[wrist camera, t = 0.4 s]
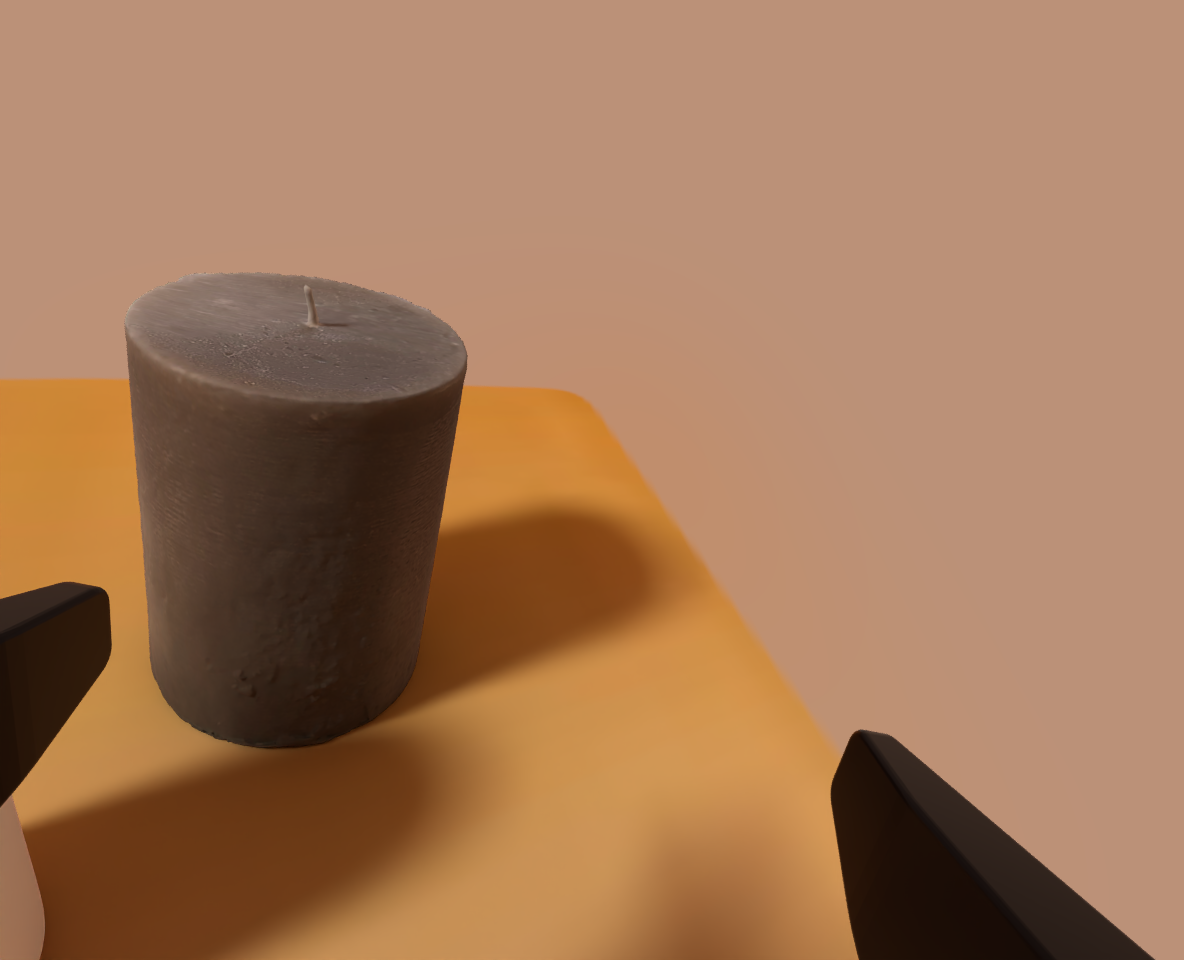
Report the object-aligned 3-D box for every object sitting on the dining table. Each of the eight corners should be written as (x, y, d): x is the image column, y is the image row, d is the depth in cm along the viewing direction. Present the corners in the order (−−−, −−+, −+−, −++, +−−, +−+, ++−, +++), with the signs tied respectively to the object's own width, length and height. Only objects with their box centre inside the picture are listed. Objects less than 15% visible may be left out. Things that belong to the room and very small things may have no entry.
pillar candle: (326, 794, 24) (367, 397, 16) (85, 678, 25) (18, 260, 18) (458, 620, 32) (526, 302, 25) (271, 538, 34) (280, 213, 26)
